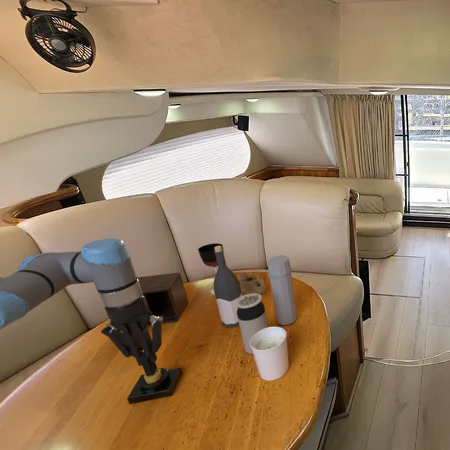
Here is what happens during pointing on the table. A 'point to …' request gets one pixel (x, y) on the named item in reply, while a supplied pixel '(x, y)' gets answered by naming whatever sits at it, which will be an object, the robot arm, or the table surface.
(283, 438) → the table surface
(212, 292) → the wineglass
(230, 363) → the table surface
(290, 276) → the water bottle
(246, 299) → the travel mug
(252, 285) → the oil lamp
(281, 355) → the candle holder
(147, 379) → the button
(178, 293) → the cabinet
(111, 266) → the robot arm
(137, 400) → the button block
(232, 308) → the wine bottle
